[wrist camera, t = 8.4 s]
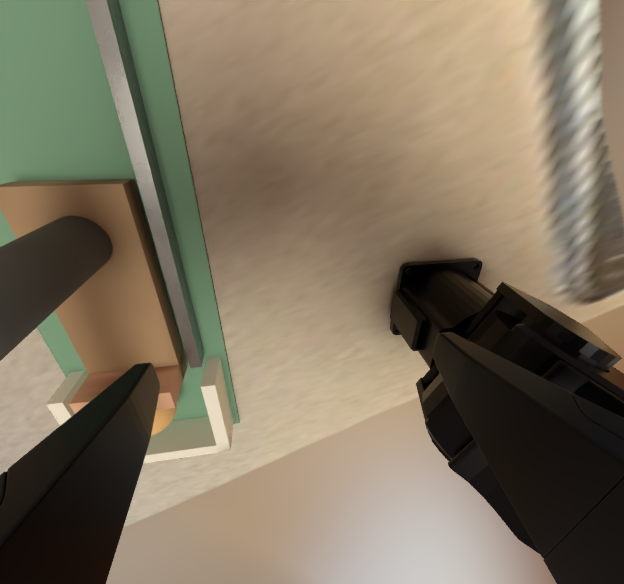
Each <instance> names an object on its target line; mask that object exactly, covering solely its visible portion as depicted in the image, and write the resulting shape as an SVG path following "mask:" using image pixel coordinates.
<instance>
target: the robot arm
mask: <svg viewBox="0 0 624 584" xmlns="http://www.w3.org/2000/svg"><path fill="white" fill-rule="evenodd" d="M475 264H476V265H475ZM474 265H475V266H474ZM473 266H474V267H473ZM409 268H410V269H409ZM481 268H482V262H481V261H479V260H478V259H461V260H446V261H431V262H417V263H406V264H404V265H402V267H401V269H400V273H399V279H398V285H397V290H396V291H395V292H394V297H393V303H392V309H391V315H390V318H391V320H392V321H391V327H390V330H391V331H392V333H393V334H394V335H402V336H403V338H404V339H405V341H406V342H407V344H408V345H409V347H410V348H411V349H412V350H413V351H418V352H419V353H420V355H421V356H422V357H423V359H424V360H425V362H426V363H427V365H428V366H429V368H430V370H429V371H428V372H427V373H426V375H425V376H424V377H423V378H420V379H419V380H418V382H417V383H416V386H417V390H418V394H419V398H420V402H421V406H422V410H423V414H424V418H425V424H426V428H427V430H428V432H429V435H430V437H431V439H432V442H433V443H434V444H435V446H436V447H437V448H438V450H439V451H440V452H441V453H442V454H443V455H444V456H445V458H446V459H447V460H448V461H449V462H448V465H449V467H450V468H451V469H452V470H453V471H454V472H456V473H457V474H458V475H460V476H461V477H462V478H464V479H465V480H466V481H468V482H469V483H470V484H471V485H472V486H473V487H474V488H475V489H476V490H477V491H478V492H479V493H480V494H481V495H482V496H483V497H484V498H485V499H486V500H487V502H488V503H489V504H490V505H491V506H492V507H493V509H494V510H495V511H496V512H497V513H498V515H499V516H500V517H501V518H502V520H503V521H504V522H505V523H506V525H507V526H508V527H509V528H510V530H511V531H512V532H513V533H514V535H515V536H516V537H517V538H518V539H519V540H520V541H522V542H523V543H524V544H526V545H527V546H529V547H530V548H532V549H533V550H535V551H536V552H538V553H539V554H541V556H542V557H543V558H544V562H545V564H546V565H547V567H548V569H549V571H550V572H551V574H552V576H553V578H554V579H555V581H556V583H557V584H624V374H623V373H622V372H620V371H619V370H617V369H616V368H614V367H613V365H615V364H616V363H617V362H618V361H619V360H620V359H622V358H621V357H620V356H619V355H618V354H617V353H616V352H615V351H614V350H612V349H611V348H610V347H609V346H608V345H607V344H605V343H604V342H603V341H602V340H601V339H600V338H598V337H597V336H596V335H595V334H594V333H593V332H591V331H590V330H589V329H588V328H586V327H585V326H583V325H582V324H580V323H579V322H577V321H575V320H574V319H572V318H570V317H569V316H567V315H565V314H564V313H562V312H560V311H559V310H557V309H555V308H554V307H552V306H550V305H549V304H547V303H545V302H543V301H540V300H538V299H536V298H534V297H532V296H530V295H528V294H526V293H524V292H522V291H520V290H518V289H516V288H514V287H512V286H510V285H508V284H506V283H504V282H502V283H501V284H500V285H499V286H498V287H497V291H496V293H493V292H492V291H490V290H489V289H488V288H486V287H485V286H484V285H482V284H481V283H480V282H478V278H479V275H480V271H481ZM407 269H409V271H408V272H405V271H406V270H407ZM396 328H397V330H395V329H396ZM159 392H160V382H159V379H158V376H157V374H156V371H155V368H154V366H153V364H152V363H149V362H148V363H138V364H135V365H134V366H133V367H131V368H130V369H129V370H128V371H127V372H125V373H124V374H123V375H122V376H120V377H119V378H118V379H117V380H116V381H114V382H113V383H112V384H111V385H109V386H108V387H107V388H106V389H105V390H103V391H102V392H101V393H100V394H99V395H97V396H96V397H95V398H94V399H92V400H91V401H90V402H89V403H88V404H86V405H85V406H84V407H83V408H81V409H80V410H79V411H78V412H77V413H75V414H74V415H73V416H72V417H71V418H69V419H68V420H67V421H66V422H64V423H63V424H62V425H61V426H60V427H58V428H57V429H56V430H55V431H54V432H52V433H51V434H50V435H49V436H47V437H46V438H45V439H44V440H43V441H41V442H40V443H39V444H38V445H36V446H35V447H34V448H33V449H32V450H30V451H29V452H28V453H27V454H26V455H24V456H23V457H22V458H21V459H19V460H18V461H17V462H16V463H15V464H13V465H12V466H11V467H10V468H9V469H8V471H7V472H4V473H2V474H1V475H0V584H106V581H107V577H108V574H109V571H110V568H111V565H112V561H113V558H114V555H115V552H116V549H117V545H118V542H119V539H120V536H121V532H122V529H123V526H124V523H125V520H126V516H127V513H128V510H129V507H130V504H131V500H132V497H133V494H134V491H135V488H136V484H137V481H138V478H139V475H140V471H141V468H142V465H143V462H144V459H145V455H146V452H147V449H148V445H149V442H150V438H151V433H152V428H153V423H154V418H155V413H156V407H157V402H158V397H159Z"/></svg>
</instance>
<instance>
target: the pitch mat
mask: <svg viewBox="0 0 624 584" xmlns="http://www.w3.org/2000/svg"><path fill="white" fill-rule="evenodd" d="M119 4H120V8H121V12H122V16H123V20H124V24H125V29H126V33H127V37H128V41H129V45H130V49H131V53H132V57H133V61H134V65H135V70H136V74H137V78H138V82H139V86H140V90H141V94H142V98H143V102H144V106H145V111H146V115H147V119H148V123H149V127H150V131H151V135H152V139H153V143H154V148H155V152H156V156H157V160H158V164H159V168H160V172H161V176H162V180H163V184H164V189H165V193H166V197H167V201H168V205H169V209H170V213H171V217H172V221H173V225H174V230H175V234H176V238H177V242H178V246H179V250H180V254H181V258H182V262H183V267H184V271H185V275H186V279H187V283H188V287H189V291H190V295H191V299H192V303H193V308H194V312H195V316H196V320H197V324H198V328H199V332H200V336H201V340H202V344H203V349H204V353H205V354H204V358H203V362H202V367H196V368H190V365H189V362H188V358H187V355H186V351H185V348H184V344H183V341H182V337H181V334H180V330H179V327H178V323H177V320H176V316H175V313H174V309H173V306H172V302H171V299H170V295H169V292H168V288H167V285H166V281H165V278H164V274H163V271H162V267H161V264H160V260H159V257H158V253H157V250H156V246H155V243H154V239H153V236H152V232H151V229H150V225H149V222H148V218H147V215H146V211H145V208H144V204H143V201H142V197H141V194H140V190H139V187H138V183H137V180H136V176H135V173H134V169H133V166H132V162H131V159H130V155H129V152H128V148H127V145H126V141H125V138H124V134H123V131H122V127H121V124H120V120H119V117H118V113H117V110H116V106H115V103H114V99H113V96H112V92H111V89H110V85H109V82H108V78H107V75H106V71H105V68H104V64H103V61H102V57H101V54H100V50H99V47H98V43H97V40H96V36H95V33H94V29H93V26H92V22H91V19H90V15H89V12H88V8H87V5H86V1H85V0H0V185H1V184H5V183H9V182H24V181H65V180H107V179H134V182H135V186H136V189H137V193H138V196H139V200H140V203H141V207H142V210H143V213H144V217H145V220H146V224H147V227H148V231H149V234H150V238H151V241H152V244H153V248H154V251H155V255H156V258H157V262H158V265H159V269H160V272H161V275H162V279H163V282H164V286H165V289H166V293H167V296H168V300H169V303H170V306H171V310H172V313H173V317H174V320H175V324H176V327H177V331H178V334H179V337H180V341H181V344H182V348H183V351H184V355H185V358H186V362H187V365H188V366H187V370H186V373H185V376H184V380H183V383H182V386H181V390H180V393H179V397H178V400H177V411H176V414H175V417H174V418H173V420H172V421H176V420H184V419H191V418H199V417H207V416H208V412H207V408H206V405H205V401H204V397H203V394H202V390H201V383H202V379H203V374H204V370H205V365H206V361H207V358H211V357H220V359H221V364H222V369H223V374H224V378H225V383H226V388H227V393H228V397H229V402H230V407H231V412H232V416H233V424H235V423H239V416H238V411H237V406H236V400H235V395H234V390H233V385H232V380H231V375H230V370H229V364H228V359H227V354H226V349H225V344H224V339H223V334H222V328H221V323H220V318H219V313H218V308H217V303H216V298H215V292H214V287H213V282H212V277H211V272H210V267H209V262H208V257H207V251H206V246H205V241H204V236H203V231H202V226H201V221H200V215H199V210H198V205H197V200H196V195H195V190H194V185H193V179H192V174H191V169H190V164H189V159H188V154H187V149H186V143H185V138H184V133H183V128H182V123H181V118H180V113H179V107H178V102H177V97H176V92H175V87H174V82H173V77H172V71H171V66H170V61H169V56H168V51H167V46H166V41H165V35H164V30H163V25H162V20H161V15H160V10H159V5H158V0H119ZM13 240H16V237H15V235H14V233H13V231H12V230H11V228H10V226H9V224H8V222H7V220H6V218H5V216H4V215H3V213H2V211H1V209H0V247H1V246H3V245H5V244H7V243H9V242H11V241H13ZM37 329H38V330H39V332H40V334H41V335H42V337H43V339H44V341H45V342H46V344H47V346H48V347H49V349H50V351H51V352H52V354H53V356H54V358H55V359H56V361H57V363H58V364H59V366H60V368H61V369H62V371H63V373H64V374H65V376H66V377H67V376H68V375H69V373H70V372H74V371H84V370H85V371H86V373H87V375H89V374H88V372H87V370H86V368H85V367H84V365H83V363H82V361H81V359H80V357H79V355H78V353H77V352H76V350H75V348H74V346H73V344H72V342H71V340H70V338H69V337H68V335H67V333H66V331H65V329H64V327H63V325H62V323H61V322H60V320H59V318H58V316H57V314H56V312H55V311H54V312H53V313H51V314H50V315H49V316H48V317H47V318H46V319H45V320H44V321H43V322H42V323H41V324H40V325H38V326H37Z"/></svg>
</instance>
